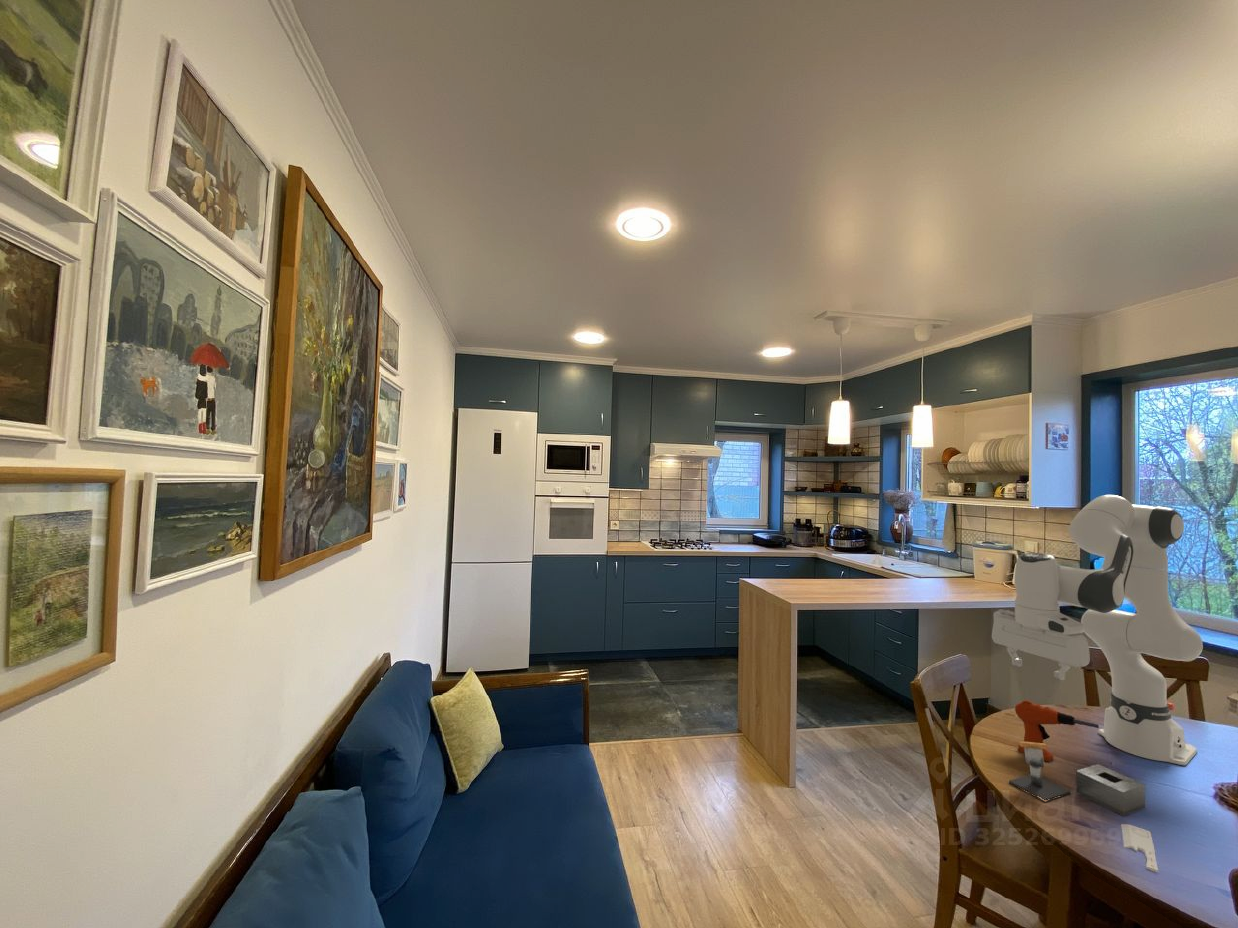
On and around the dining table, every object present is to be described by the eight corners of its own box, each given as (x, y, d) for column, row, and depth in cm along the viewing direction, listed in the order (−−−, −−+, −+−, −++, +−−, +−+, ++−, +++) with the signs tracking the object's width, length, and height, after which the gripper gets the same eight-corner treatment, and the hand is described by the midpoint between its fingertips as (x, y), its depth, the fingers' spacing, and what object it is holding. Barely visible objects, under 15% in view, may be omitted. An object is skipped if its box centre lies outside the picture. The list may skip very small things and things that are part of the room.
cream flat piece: (1122, 861, 102) (1121, 855, 102) (1118, 825, 113) (1118, 820, 113) (1158, 874, 98) (1158, 868, 98) (1151, 835, 109) (1151, 830, 109)
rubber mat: (1033, 775, 131) (1033, 772, 131) (1070, 793, 123) (1070, 790, 123) (1009, 782, 127) (1009, 780, 127) (1045, 801, 120) (1045, 799, 120)
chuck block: (1097, 785, 127) (1097, 763, 127) (1145, 807, 118) (1144, 784, 118) (1076, 793, 123) (1076, 770, 124) (1123, 816, 115) (1123, 792, 115)
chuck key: (1020, 779, 128) (1016, 738, 129) (1046, 782, 127) (1042, 741, 128) (1027, 786, 125) (1023, 744, 126) (1054, 789, 123) (1049, 747, 124)
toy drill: (1105, 778, 127) (1093, 716, 129) (1016, 753, 143) (1007, 699, 145) (1110, 772, 130) (1099, 712, 132) (1022, 748, 145) (1014, 695, 147)
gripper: (986, 608, 135) (986, 659, 135) (1077, 630, 116) (1078, 689, 116) (1001, 606, 137) (1001, 656, 137) (1093, 627, 118) (1094, 685, 118)
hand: (1037, 672), depth 126 cm, fingers open, 8 cm apart
